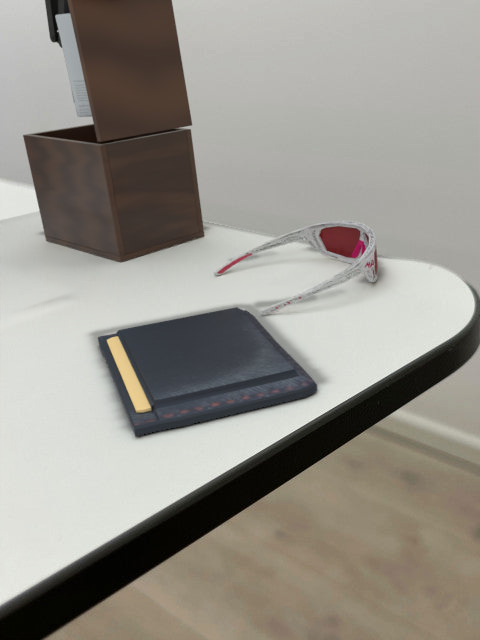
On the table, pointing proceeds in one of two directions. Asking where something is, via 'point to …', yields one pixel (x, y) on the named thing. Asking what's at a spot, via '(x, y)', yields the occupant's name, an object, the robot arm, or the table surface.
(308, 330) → the table surface
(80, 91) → the cosmetic box
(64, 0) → the robot arm
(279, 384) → the wallet
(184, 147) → the chest
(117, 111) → the lid
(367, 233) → the sunglasses
